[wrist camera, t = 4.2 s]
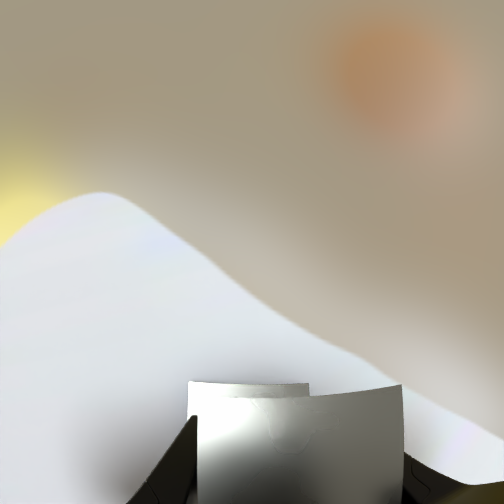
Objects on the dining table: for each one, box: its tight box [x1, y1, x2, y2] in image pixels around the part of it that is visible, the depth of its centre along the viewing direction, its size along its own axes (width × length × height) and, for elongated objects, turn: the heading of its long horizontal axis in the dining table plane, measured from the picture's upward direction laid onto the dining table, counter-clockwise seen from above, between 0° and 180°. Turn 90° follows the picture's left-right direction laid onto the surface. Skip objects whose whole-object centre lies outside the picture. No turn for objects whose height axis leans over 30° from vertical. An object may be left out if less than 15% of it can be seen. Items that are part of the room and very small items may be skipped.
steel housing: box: [187, 382, 404, 504], centre depth 9 cm, size 6×6×11 cm
